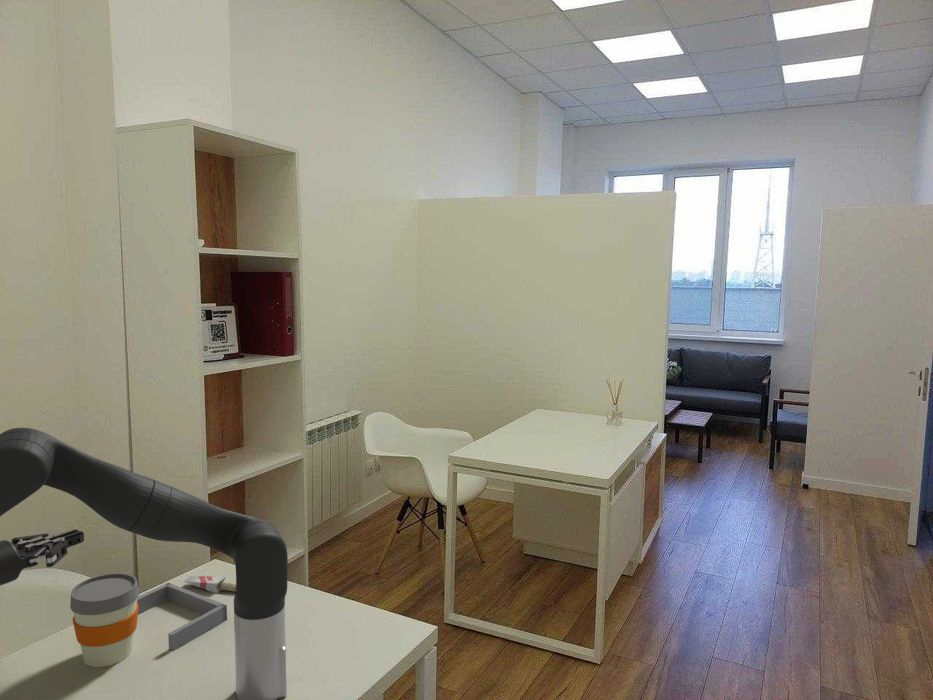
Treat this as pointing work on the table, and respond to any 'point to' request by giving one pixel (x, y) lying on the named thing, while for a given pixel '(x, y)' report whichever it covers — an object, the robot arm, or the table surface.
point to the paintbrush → (211, 583)
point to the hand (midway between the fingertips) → (80, 535)
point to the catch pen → (204, 605)
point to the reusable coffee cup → (105, 617)
